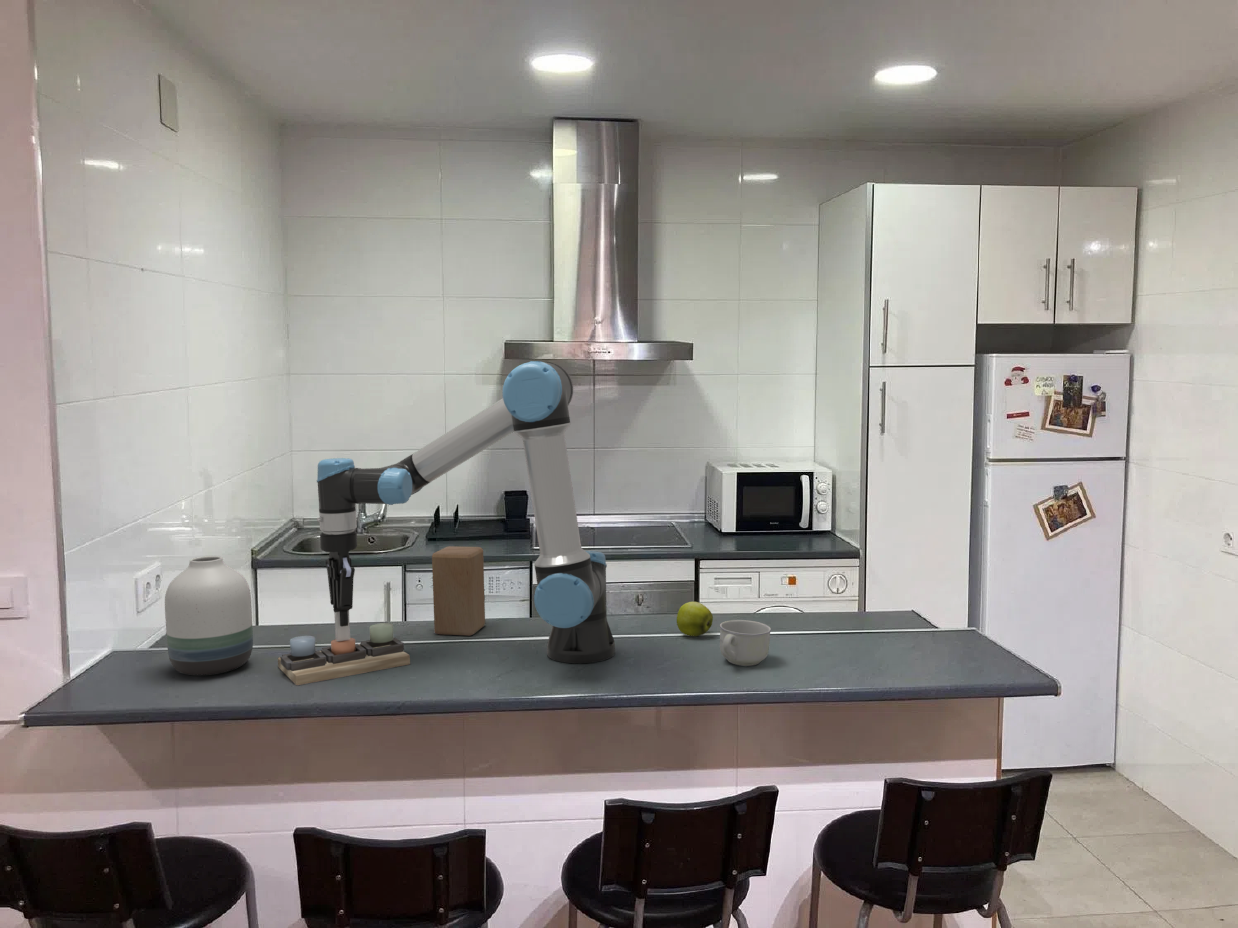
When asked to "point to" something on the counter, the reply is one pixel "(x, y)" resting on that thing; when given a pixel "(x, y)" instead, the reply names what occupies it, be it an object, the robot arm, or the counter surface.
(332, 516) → the robot arm
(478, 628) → the block
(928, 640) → the counter surface
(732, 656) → the teacup
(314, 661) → the button panel
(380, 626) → the sage button
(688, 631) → the apple
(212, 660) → the vase
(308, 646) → the slate button
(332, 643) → the terracotta button
